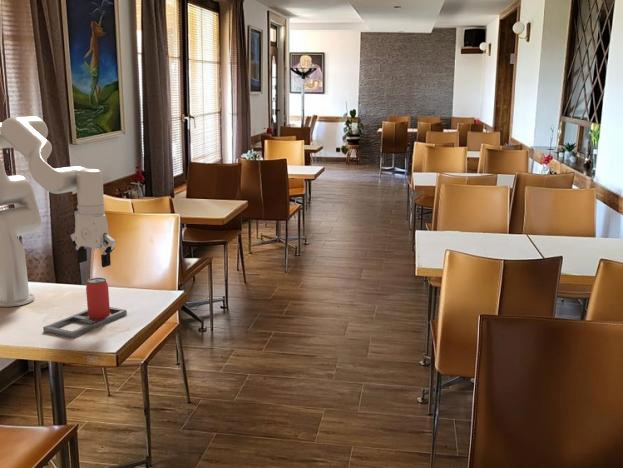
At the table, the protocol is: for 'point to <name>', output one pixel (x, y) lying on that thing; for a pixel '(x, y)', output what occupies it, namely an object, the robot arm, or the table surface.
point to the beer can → (97, 298)
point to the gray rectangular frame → (85, 320)
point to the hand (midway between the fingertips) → (94, 264)
